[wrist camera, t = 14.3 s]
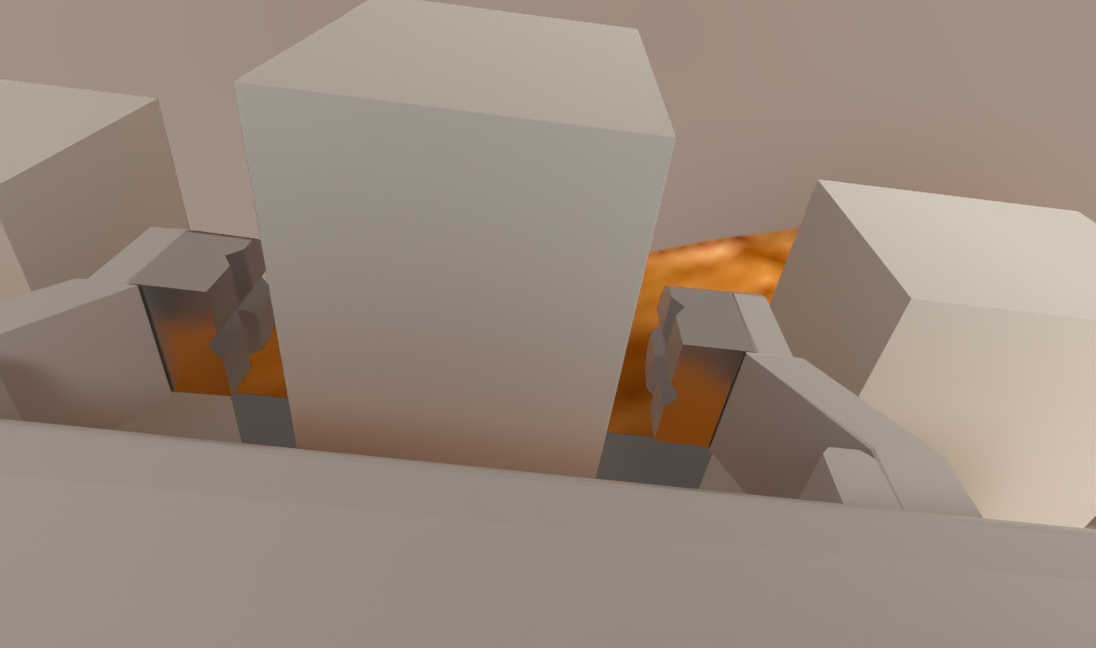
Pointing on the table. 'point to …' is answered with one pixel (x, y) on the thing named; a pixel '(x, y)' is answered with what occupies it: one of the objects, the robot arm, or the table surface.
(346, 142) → the block
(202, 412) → the white u-shaped stand
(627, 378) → the table surface
